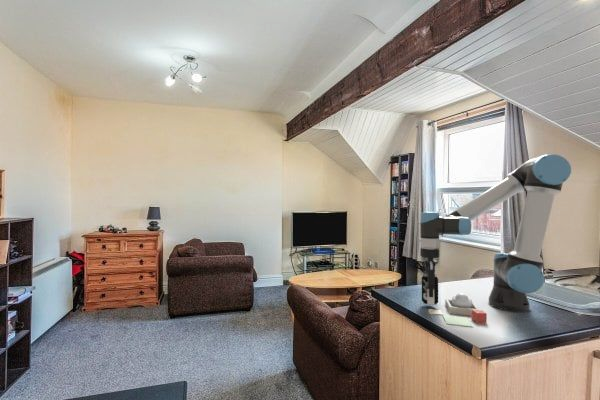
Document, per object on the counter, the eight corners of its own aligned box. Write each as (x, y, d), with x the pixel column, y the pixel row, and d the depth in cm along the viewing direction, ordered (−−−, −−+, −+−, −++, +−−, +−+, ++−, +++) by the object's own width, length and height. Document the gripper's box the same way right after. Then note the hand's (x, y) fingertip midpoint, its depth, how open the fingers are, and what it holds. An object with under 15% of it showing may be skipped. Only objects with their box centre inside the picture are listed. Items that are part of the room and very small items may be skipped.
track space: (440, 311, 132) (440, 310, 132) (442, 315, 127) (442, 314, 127) (427, 309, 134) (427, 308, 134) (429, 313, 129) (429, 312, 129)
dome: (469, 304, 136) (470, 291, 136) (474, 309, 129) (474, 296, 129) (450, 302, 138) (450, 290, 138) (453, 307, 131) (453, 295, 131)
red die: (481, 319, 124) (481, 309, 124) (486, 323, 120) (486, 313, 120) (471, 319, 124) (472, 309, 124) (476, 322, 120) (476, 312, 120)
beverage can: (439, 305, 133) (439, 277, 133) (423, 304, 135) (423, 276, 135) (436, 301, 140) (436, 273, 140) (420, 300, 141) (420, 272, 141)
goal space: (467, 318, 124) (467, 317, 124) (473, 327, 116) (473, 326, 116) (442, 315, 127) (442, 314, 127) (446, 324, 118) (446, 323, 118)
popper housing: (473, 307, 137) (473, 301, 137) (479, 316, 127) (479, 310, 127) (445, 304, 141) (445, 298, 141) (449, 313, 130) (449, 306, 130)
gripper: (418, 244, 148) (418, 294, 148) (422, 250, 129) (422, 308, 129) (436, 245, 146) (436, 295, 145) (442, 251, 127) (442, 310, 127)
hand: (429, 301), depth 137 cm, fingers closed on beverage can, 7 cm apart
